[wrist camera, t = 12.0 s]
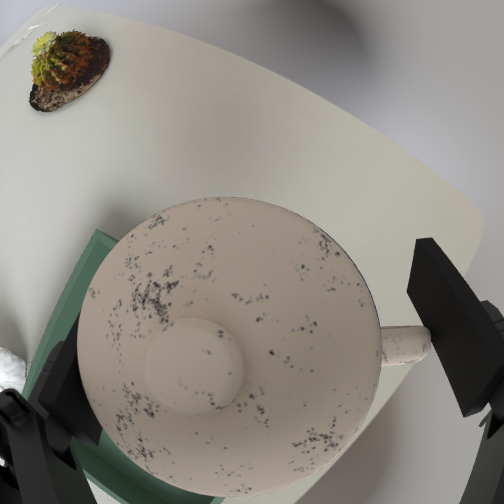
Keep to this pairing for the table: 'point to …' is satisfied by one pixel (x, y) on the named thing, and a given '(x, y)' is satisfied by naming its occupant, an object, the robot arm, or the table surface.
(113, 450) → the tray
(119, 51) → the table surface
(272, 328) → the teacup with lid
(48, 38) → the cactus
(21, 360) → the bust
